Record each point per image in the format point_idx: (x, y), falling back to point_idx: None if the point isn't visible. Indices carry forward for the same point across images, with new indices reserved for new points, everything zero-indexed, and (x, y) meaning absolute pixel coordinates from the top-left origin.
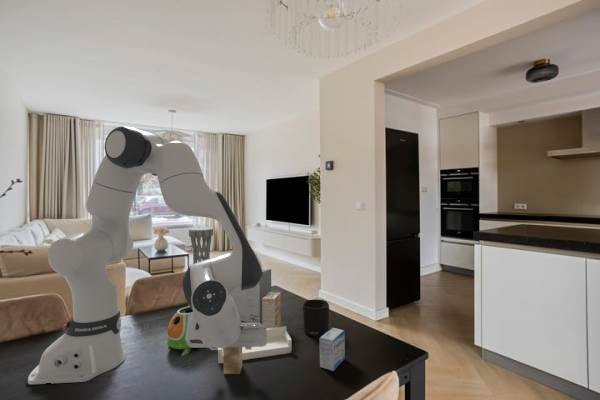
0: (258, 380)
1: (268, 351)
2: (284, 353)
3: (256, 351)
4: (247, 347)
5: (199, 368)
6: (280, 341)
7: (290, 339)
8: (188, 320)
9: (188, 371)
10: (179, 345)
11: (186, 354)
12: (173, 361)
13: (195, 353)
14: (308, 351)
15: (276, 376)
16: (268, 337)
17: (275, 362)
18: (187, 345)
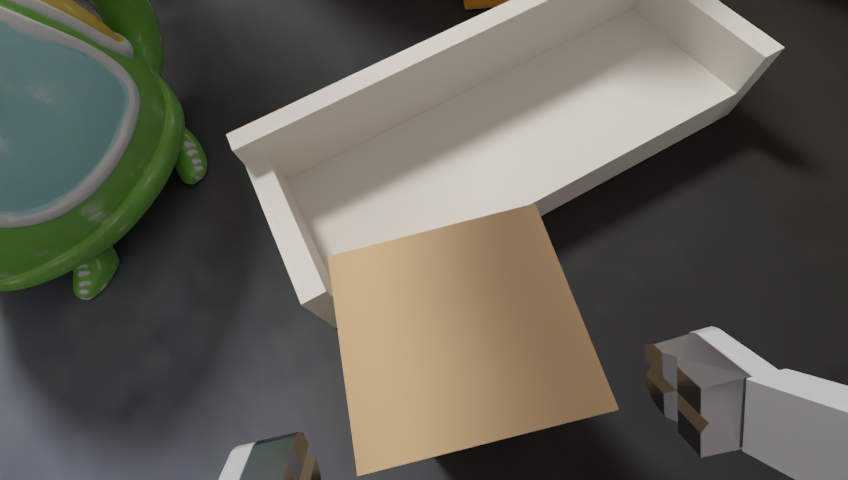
0: (710, 467)
1: (619, 162)
2: (692, 132)
3: (554, 192)
4: (728, 448)
5: (235, 409)
6: (644, 55)
7: (773, 45)
8: None
9: (175, 461)
10: (4, 279)
11: (107, 282)
12: (49, 367)
13: (158, 254)
14: (819, 79)
15: None
16: (553, 41)
17: (692, 230)
18: (61, 262)
